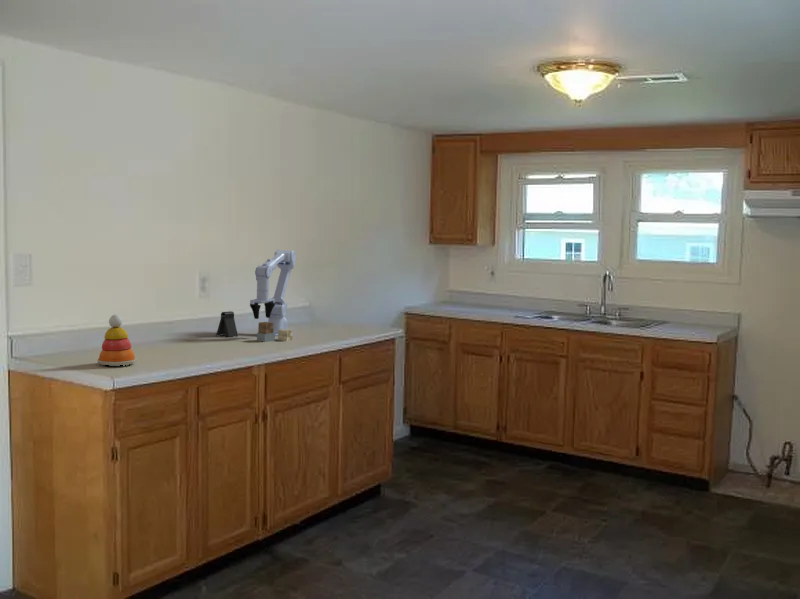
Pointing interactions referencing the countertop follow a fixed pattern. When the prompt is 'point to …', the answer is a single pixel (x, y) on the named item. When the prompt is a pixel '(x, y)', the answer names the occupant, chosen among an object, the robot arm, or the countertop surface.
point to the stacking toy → (116, 345)
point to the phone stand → (227, 325)
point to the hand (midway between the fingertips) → (262, 318)
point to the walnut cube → (265, 327)
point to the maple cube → (285, 335)
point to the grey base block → (266, 337)
